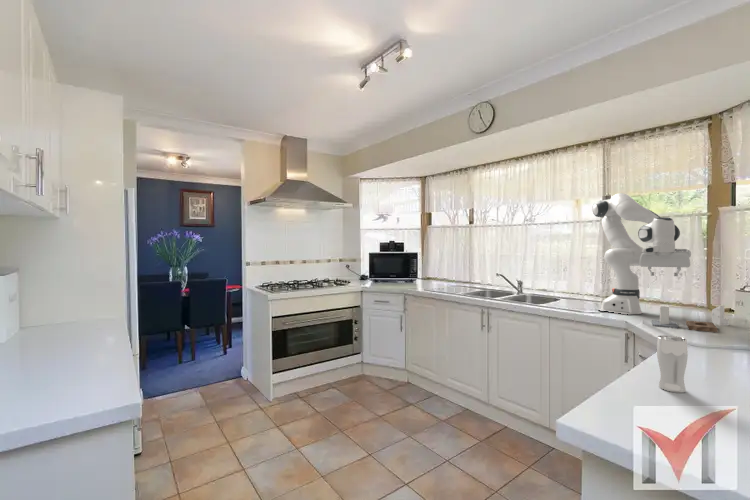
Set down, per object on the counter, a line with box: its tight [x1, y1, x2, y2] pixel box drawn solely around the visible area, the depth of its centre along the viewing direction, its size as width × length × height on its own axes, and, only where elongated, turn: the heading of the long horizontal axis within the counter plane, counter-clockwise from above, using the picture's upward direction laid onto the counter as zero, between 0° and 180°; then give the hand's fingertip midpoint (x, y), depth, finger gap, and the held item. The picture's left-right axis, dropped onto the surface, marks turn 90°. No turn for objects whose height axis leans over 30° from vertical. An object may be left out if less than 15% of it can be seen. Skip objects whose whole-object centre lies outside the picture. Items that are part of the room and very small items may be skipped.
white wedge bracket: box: [711, 305, 730, 326], centre depth 183 cm, size 4×10×9 cm, turn 168°
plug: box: [659, 304, 670, 325], centre depth 185 cm, size 4×5×9 cm
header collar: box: [685, 319, 718, 333], centre depth 176 cm, size 10×14×2 cm
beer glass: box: [656, 334, 689, 394], centre depth 106 cm, size 7×7×15 cm
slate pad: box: [651, 319, 679, 329], centre depth 185 cm, size 10×12×1 cm
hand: (664, 275), depth 184 cm, fingers open, 8 cm apart
